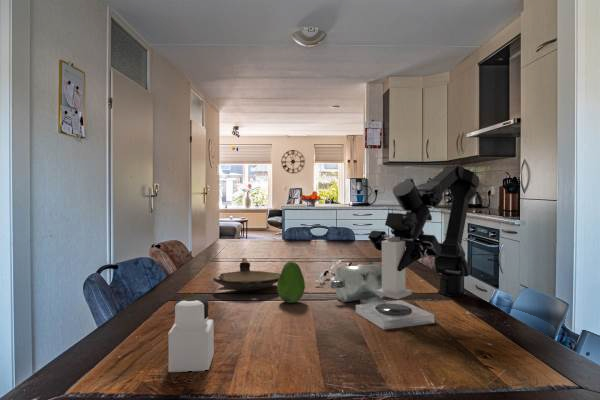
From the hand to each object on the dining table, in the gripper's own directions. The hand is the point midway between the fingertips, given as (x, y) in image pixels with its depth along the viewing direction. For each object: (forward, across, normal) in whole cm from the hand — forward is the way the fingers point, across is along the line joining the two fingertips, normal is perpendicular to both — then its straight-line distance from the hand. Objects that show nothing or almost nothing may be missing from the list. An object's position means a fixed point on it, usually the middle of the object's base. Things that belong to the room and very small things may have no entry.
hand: (390, 269), depth 100 cm
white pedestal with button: (+4, 0, +6) cm, 7 cm away
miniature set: (-11, -40, +30) cm, 51 cm away
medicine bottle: (+43, -11, -26) cm, 52 cm away
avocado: (+14, -28, +4) cm, 32 cm away
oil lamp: (+12, -51, +6) cm, 53 cm away
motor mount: (+6, -8, +11) cm, 15 cm away
